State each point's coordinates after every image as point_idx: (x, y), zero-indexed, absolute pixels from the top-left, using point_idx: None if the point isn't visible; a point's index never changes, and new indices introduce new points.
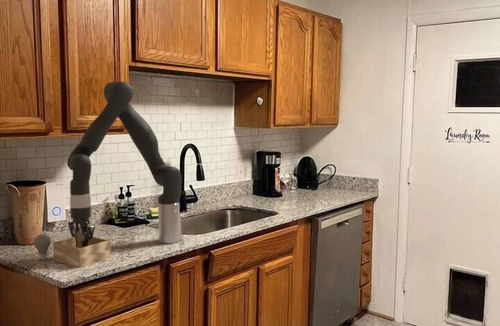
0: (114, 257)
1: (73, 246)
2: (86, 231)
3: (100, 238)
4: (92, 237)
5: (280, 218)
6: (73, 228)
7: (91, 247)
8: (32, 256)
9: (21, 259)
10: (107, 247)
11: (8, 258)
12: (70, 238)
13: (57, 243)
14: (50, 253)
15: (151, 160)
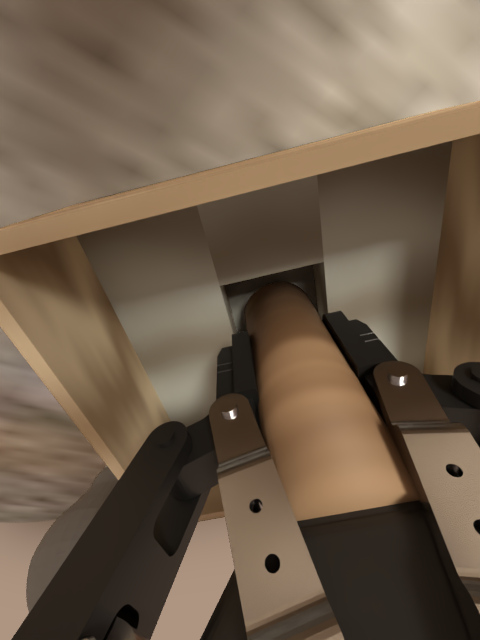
0: (456, 67)
1: (111, 341)
2: (425, 474)
3: (389, 144)
4: (189, 205)
5: None
6: (150, 588)
7: None
8: (42, 460)
9: (74, 493)
10: None
11: (29, 517)
12: (93, 425)
13: (210, 518)
14: (19, 394)
15: None
